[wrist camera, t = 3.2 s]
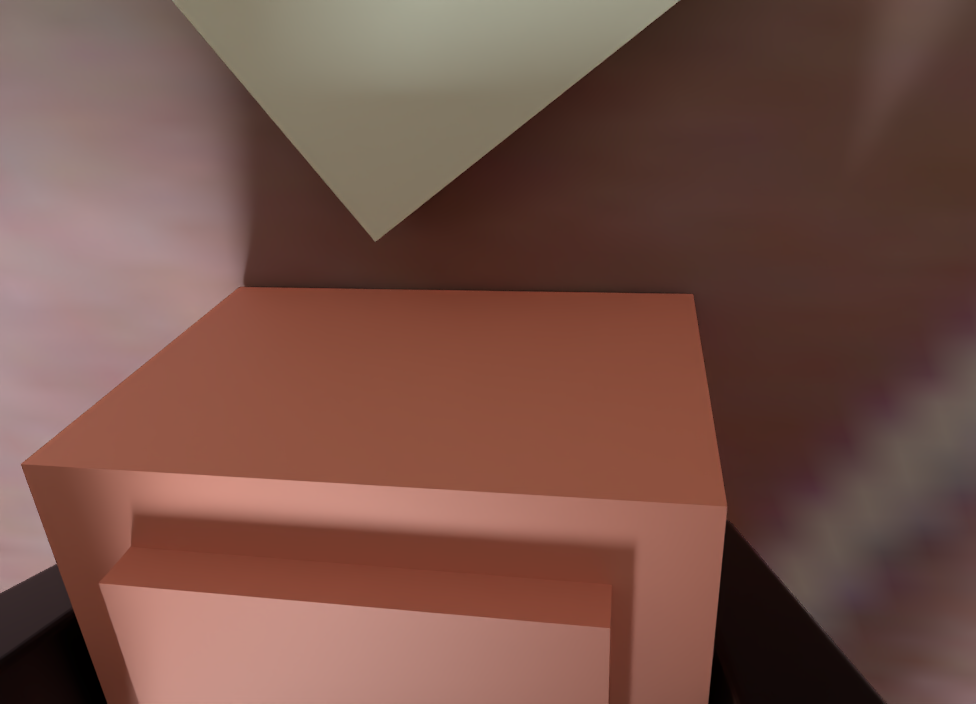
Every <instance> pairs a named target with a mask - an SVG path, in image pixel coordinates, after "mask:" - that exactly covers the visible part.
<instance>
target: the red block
mask: <svg viewBox="0 0 976 704" xmlns="http://www.w3.org/2000/svg"><path fill="white" fill-rule="evenodd" d="M21 466H22V469H23V472H24V474H25V477H26V480H27V483H28V485H29V488H30V491H31V494H32V496H33V499H34V502H35V505H36V508H37V510H38V513H39V516H40V519H41V521H42V524H43V527H44V530H45V532H46V535H47V538H48V541H49V544H50V546H51V549H52V552H53V555H54V557H55V560H56V563H57V566H58V568H59V571H60V574H61V577H62V579H63V582H64V585H65V588H66V591H67V593H68V596H69V599H70V602H71V604H72V607H73V610H74V613H75V615H76V618H77V621H78V624H79V626H80V629H81V632H82V635H83V638H84V640H85V643H86V646H87V649H88V651H89V654H90V657H91V660H92V662H93V665H94V668H95V671H96V674H97V676H98V679H99V682H100V685H101V687H102V690H103V693H104V696H105V698H106V701H107V704H708V700H709V690H710V680H711V669H712V659H713V649H714V639H715V628H716V618H717V608H718V598H719V587H720V577H721V567H722V557H723V546H724V536H725V526H726V516H727V501H726V495H725V489H724V483H723V476H722V470H721V464H720V458H719V452H718V445H717V439H716V433H715V427H714V420H713V414H712V408H711V402H710V396H709V389H708V383H707V377H706V371H705V365H704V358H703V352H702V346H701V340H700V334H699V327H698V321H697V315H696V309H695V303H694V296H693V294H662V293H597V292H533V291H468V290H403V289H338V288H273V287H239V288H238V289H236V290H235V291H234V292H233V293H231V294H230V295H229V296H228V297H227V298H225V299H224V300H223V301H222V302H220V303H219V304H218V305H217V306H215V307H214V308H213V309H212V310H210V311H209V312H208V313H207V314H206V315H204V316H203V317H202V318H201V319H199V320H198V321H197V322H196V323H194V324H193V325H192V326H191V327H189V328H188V329H187V330H186V331H185V332H183V333H182V334H181V335H180V336H178V337H177V338H176V339H175V340H173V341H172V342H171V343H170V344H169V345H167V346H166V347H165V348H164V349H162V350H161V351H160V352H159V353H157V354H156V355H155V356H154V357H152V358H151V359H150V360H149V361H148V362H146V363H145V364H144V365H143V366H141V367H140V368H139V369H138V370H136V371H135V372H134V373H133V374H131V375H130V376H129V377H128V378H127V379H125V380H124V381H123V382H122V383H120V384H119V385H118V386H117V387H115V388H114V389H113V390H112V391H110V392H109V393H108V394H107V395H106V396H104V397H103V398H102V399H101V400H99V401H98V402H97V403H96V404H94V405H93V406H92V407H91V408H90V409H88V410H87V411H86V412H85V413H83V414H82V415H81V416H80V417H78V418H77V419H76V420H75V421H73V422H72V423H71V424H70V425H69V426H67V427H66V428H65V429H64V430H62V431H61V432H60V433H59V434H57V435H56V436H55V437H54V438H52V439H51V440H50V441H49V442H48V443H46V444H45V445H44V446H43V447H41V448H40V449H39V450H38V451H36V452H35V453H34V454H33V455H32V456H30V457H29V458H28V459H27V460H25V461H24V462H23V463H22V464H21Z"/></svg>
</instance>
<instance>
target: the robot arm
mask: <svg viewBox="0 0 976 704" xmlns="http://www.w3.org/2000/svg"><path fill="white" fill-rule="evenodd" d="M0 704H107V701H106V698H105V696H104V693H103V690H102V687H101V685H100V682H99V679H98V676H97V674H96V671H95V668H94V665H93V662H92V660H91V657H90V654H89V651H88V649H87V646H86V643H85V640H84V638H83V635H82V632H81V629H80V626H79V624H78V621H77V618H76V615H75V613H74V610H73V607H72V604H71V602H70V599H69V596H68V593H67V591H66V588H65V585H64V582H63V579H62V577H61V574H60V571H59V568H58V566H57V564H55V565H54V566H52V567H50V568H48V569H46V570H44V571H42V572H40V573H38V574H36V575H34V576H33V577H31V578H29V579H27V580H25V581H23V582H21V583H19V584H17V585H15V586H13V587H12V588H10V589H8V590H6V591H4V592H2V593H0ZM708 704H887V703H886V702H885V701H884V700H883V698H882V697H881V696H880V695H879V694H878V693H877V692H876V690H875V689H874V688H873V687H872V686H871V685H870V683H869V682H868V681H867V680H866V679H865V678H864V676H863V675H862V674H861V673H860V672H859V671H858V669H857V668H856V667H855V666H854V665H853V664H852V662H851V661H850V660H849V659H848V658H847V657H846V656H845V654H844V653H843V652H842V651H841V650H840V649H839V647H838V646H837V645H836V644H835V643H834V642H833V640H832V639H831V638H830V637H829V636H828V635H827V633H826V632H825V631H824V630H823V629H822V628H821V626H820V625H819V624H818V623H817V622H816V621H815V620H814V618H813V617H812V616H811V615H810V614H809V613H808V611H807V610H806V609H805V608H804V607H803V606H802V604H801V603H800V602H799V601H798V600H797V599H796V597H795V596H794V595H793V594H792V593H791V592H790V590H789V589H788V588H787V587H786V586H785V585H784V583H783V582H782V581H781V580H780V579H779V578H778V577H777V575H776V574H775V573H774V572H773V571H772V570H771V568H770V567H769V566H768V565H767V564H766V563H765V561H764V560H763V559H762V558H761V557H760V556H759V554H758V553H757V552H756V551H755V550H754V549H753V547H752V546H751V545H750V544H749V543H748V542H747V541H746V539H745V538H744V537H743V536H742V535H741V534H740V532H739V531H738V530H737V529H736V528H735V527H734V525H733V524H732V523H731V522H730V521H728V520H727V519H726V526H725V536H724V546H723V557H722V567H721V577H720V587H719V598H718V608H717V618H716V628H715V639H714V649H713V659H712V669H711V680H710V690H709V700H708Z"/></svg>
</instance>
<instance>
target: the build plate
mask: <svg viewBox="0 0 976 704" xmlns="http://www.w3.org/2000/svg"><path fill="white" fill-rule="evenodd" d="M172 1H173V2H174V4H175V5H176V6H177V7H178V8H179V10H180V11H181V12H182V13H183V14H184V15H185V17H186V18H187V19H188V20H189V21H190V23H191V24H192V25H193V26H194V27H195V29H196V30H197V31H198V32H199V33H200V34H201V36H202V37H203V38H204V39H205V40H206V42H207V43H208V44H209V45H210V46H211V48H212V49H213V50H214V51H215V52H216V53H217V55H218V56H219V57H220V58H221V59H222V61H223V62H224V63H225V64H226V65H227V67H228V68H229V69H230V70H231V71H232V72H233V74H234V75H235V76H236V77H237V78H238V80H239V81H240V82H241V83H242V84H243V85H244V87H245V88H246V89H247V90H248V91H249V93H250V94H251V95H252V96H253V97H254V99H255V100H256V101H257V102H258V103H259V104H260V106H261V107H262V108H263V109H264V110H265V112H266V113H267V114H268V115H269V116H270V118H271V119H272V120H273V121H274V122H275V123H276V125H277V126H278V127H279V128H280V129H281V131H282V132H283V133H284V134H285V135H286V137H287V138H288V139H289V140H290V141H291V142H292V144H293V145H294V146H295V147H296V148H297V150H298V151H299V152H300V153H301V154H302V155H303V157H304V158H305V159H306V160H307V161H308V163H309V164H310V165H311V166H312V167H313V169H314V170H315V171H316V172H317V173H318V174H319V176H320V177H321V178H322V179H323V180H324V182H325V183H326V184H327V185H328V186H329V188H330V189H331V190H332V191H333V192H334V193H335V195H336V196H337V197H338V198H339V199H340V201H341V202H342V203H343V204H344V205H345V207H346V208H347V209H348V210H349V211H350V212H351V214H352V215H353V216H354V217H355V218H356V220H357V221H358V222H359V223H360V224H361V226H362V227H363V228H364V229H365V230H366V231H367V233H368V234H369V235H370V236H371V237H372V239H373V240H374V241H375V242H376V241H377V240H378V239H380V238H381V237H382V236H383V235H385V234H386V233H387V232H388V231H390V230H391V229H392V228H393V227H395V226H396V225H397V224H399V223H400V222H401V221H402V220H404V219H405V218H406V217H407V216H409V215H410V214H411V213H412V212H414V211H415V210H416V209H417V208H419V207H420V206H421V205H422V204H424V203H425V202H426V201H428V200H429V199H430V198H431V197H433V196H434V195H435V194H436V193H438V192H439V191H440V190H441V189H443V188H444V187H445V186H446V185H448V184H449V183H450V182H451V181H453V180H454V179H455V178H456V177H458V176H459V175H460V174H462V173H463V172H464V171H465V170H467V169H468V168H469V167H470V166H472V165H473V164H474V163H475V162H477V161H478V160H479V159H480V158H482V157H483V156H484V155H485V154H487V153H488V152H489V151H491V150H492V149H493V148H494V147H496V146H497V145H498V144H499V143H501V142H502V141H503V140H504V139H506V138H507V137H508V136H509V135H511V134H512V133H513V132H514V131H516V130H517V129H518V128H520V127H521V126H522V125H523V124H525V123H526V122H527V121H528V120H530V119H531V118H532V117H533V116H535V115H536V114H537V113H538V112H540V111H541V110H542V109H543V108H545V107H546V106H547V105H549V104H550V103H551V102H552V101H554V100H555V99H556V98H557V97H559V96H560V95H561V94H562V93H564V92H565V91H566V90H567V89H569V88H570V87H571V86H572V85H574V84H575V83H576V82H577V81H579V80H580V79H581V78H583V77H584V76H585V75H586V74H588V73H589V72H590V71H591V70H593V69H594V68H595V67H596V66H598V65H599V64H600V63H601V62H603V61H604V60H605V59H606V58H608V57H609V56H610V55H612V54H613V53H614V52H615V51H617V50H618V49H619V48H620V47H622V46H623V45H624V44H625V43H627V42H628V41H629V40H630V39H632V38H633V37H634V36H635V35H637V34H638V33H639V32H641V31H642V30H643V29H644V28H646V27H647V26H648V25H649V24H651V23H652V22H653V21H654V20H656V19H657V18H658V17H659V16H661V15H662V14H663V13H664V12H666V11H667V10H668V9H669V8H671V7H672V6H673V5H675V4H676V3H677V2H678V1H680V0H172Z"/></svg>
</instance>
